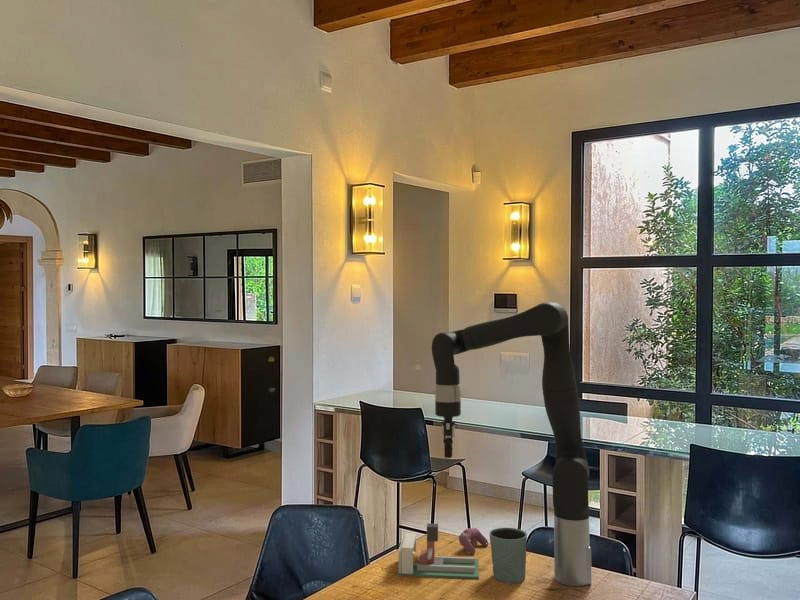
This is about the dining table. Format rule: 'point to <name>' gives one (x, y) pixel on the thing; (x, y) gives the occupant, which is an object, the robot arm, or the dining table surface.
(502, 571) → the green cup
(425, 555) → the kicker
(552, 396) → the robot arm
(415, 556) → the ball
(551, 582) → the dining table surface
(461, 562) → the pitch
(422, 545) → the dining table surface
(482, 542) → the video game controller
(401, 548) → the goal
